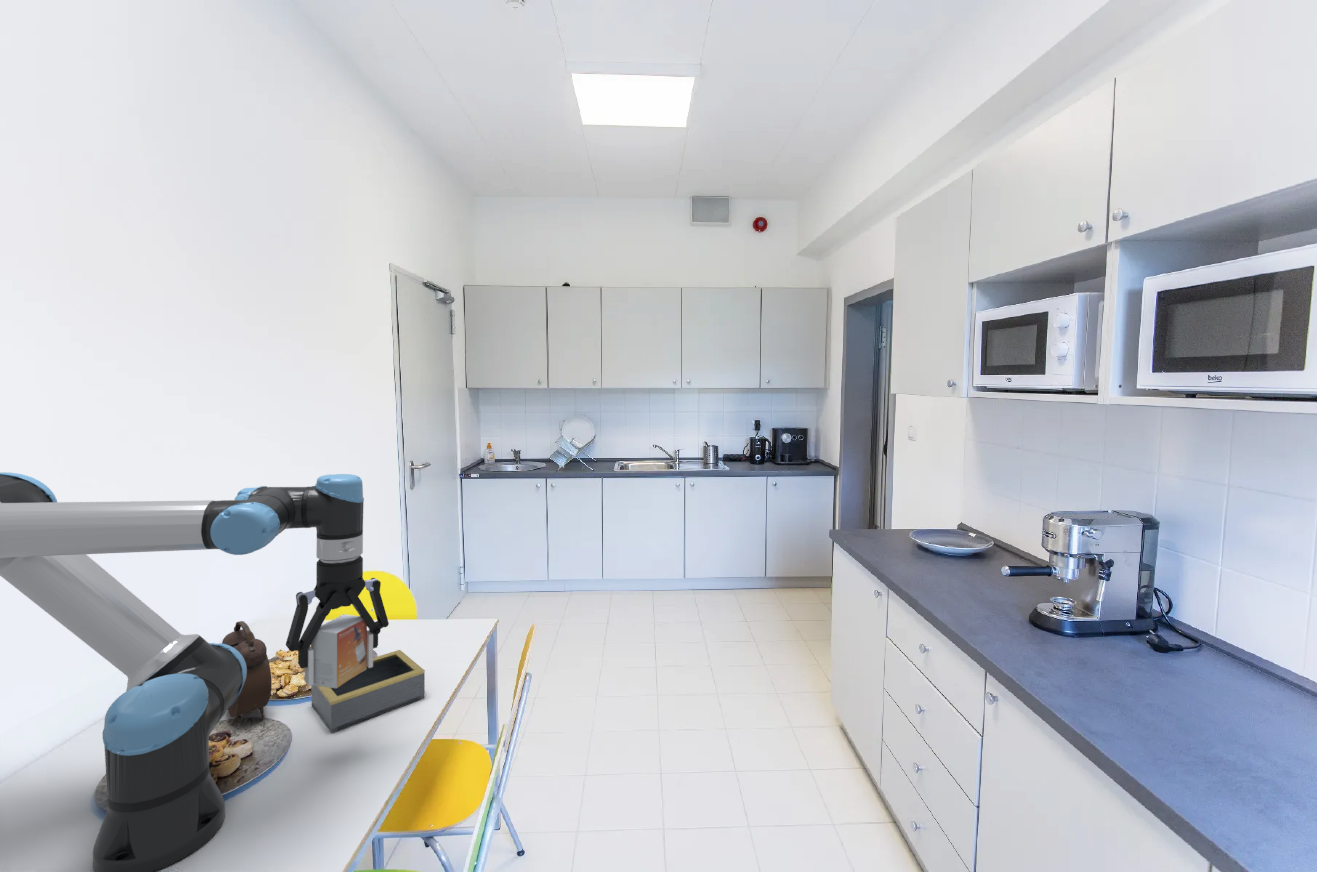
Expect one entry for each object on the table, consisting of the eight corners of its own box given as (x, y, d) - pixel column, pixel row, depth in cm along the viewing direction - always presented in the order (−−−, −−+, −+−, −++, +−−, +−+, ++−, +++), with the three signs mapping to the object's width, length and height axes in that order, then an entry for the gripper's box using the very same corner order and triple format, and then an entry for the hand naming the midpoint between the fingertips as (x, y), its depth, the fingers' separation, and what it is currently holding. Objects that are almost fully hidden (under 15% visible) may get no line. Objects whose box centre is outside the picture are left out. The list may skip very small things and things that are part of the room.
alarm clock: (278, 719, 116) (276, 627, 115) (236, 735, 111) (233, 638, 109) (257, 694, 126) (255, 609, 124) (217, 707, 120) (215, 618, 119)
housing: (331, 733, 112) (331, 702, 112) (311, 705, 122) (311, 676, 121) (424, 698, 126) (424, 670, 125) (400, 675, 135) (399, 649, 135)
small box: (336, 689, 100) (336, 633, 99) (309, 685, 101) (309, 629, 100) (367, 668, 108) (368, 616, 107) (343, 665, 109) (343, 613, 108)
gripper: (274, 574, 92) (274, 703, 94) (408, 551, 108) (407, 662, 110) (263, 563, 97) (264, 686, 99) (393, 543, 113) (392, 649, 115)
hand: (339, 673), depth 104 cm, fingers closed on small box, 9 cm apart
